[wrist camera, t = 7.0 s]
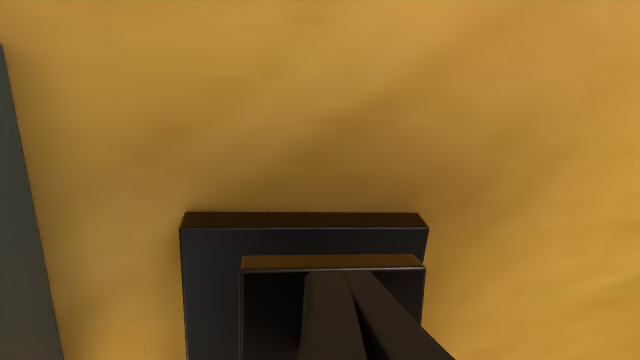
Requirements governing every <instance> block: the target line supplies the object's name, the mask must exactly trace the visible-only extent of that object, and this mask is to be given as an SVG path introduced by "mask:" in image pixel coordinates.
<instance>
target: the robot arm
mask: <svg viewBox="0 0 640 360" xmlns="http://www.w3.org/2000/svg"><path fill="white" fill-rule="evenodd" d="M296 360H455V359H454V358H453V357H452V356H451V355H450V354H449V353H448V352H447V351H446V350H445V349H444V348H443V347H441V346H440V345H439V344H438V343H437V342H436V341H435V340H434V339H433V338H432V337H431V336H430V335H429V334H428V333H427V332H426V331H425V330H424V329H423V328H422V327H421V326H420V325H419V324H418V323H417V322H416V320H415V319H414V318H413V317H412V316H411V315H410V314H409V313H408V312H407V311H406V310H405V309H404V308H403V307H402V306H401V305H400V304H399V302H398V301H397V300H396V299H395V298H394V297H393V296H392V295H391V294H390V293H389V292H388V290H387V289H386V288H385V287H384V286H383V285H382V284H381V283H380V282H379V281H378V280H377V279H376V278H375V276H374V275H373V274H372V273H371V272H370V271H319V272H310V273H309V274H308V275H306V276H305V286H304V300H303V314H302V328H301V342H300V347H299V351H298V355H297V358H296Z"/></svg>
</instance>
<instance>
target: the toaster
mask: <svg viewBox="0 0 640 360" xmlns="http://www.w3.org/2000/svg"><path fill="white" fill-rule="evenodd" d="M0 360H63V355H62V350H61V345H60V340H59V335H58V330H57V325H56V319H55V314H54V309H53V304H52V299H51V294H50V289H49V284H48V279H47V274H46V269H45V263H44V258H43V253H42V248H41V243H40V238H39V233H38V228H37V223H36V218H35V212H34V207H33V202H32V197H31V192H30V187H29V182H28V177H27V172H26V167H25V162H24V156H23V151H22V146H21V141H20V136H19V131H18V126H17V121H16V116H15V111H14V105H13V100H12V95H11V90H10V85H9V80H8V75H7V70H6V65H5V60H4V55H3V49H2V45H1V44H0Z"/></svg>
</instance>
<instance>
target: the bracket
mask: <svg viewBox="0 0 640 360" xmlns="http://www.w3.org/2000/svg"><path fill="white" fill-rule="evenodd" d="M428 233H429V227H428V226H427V224H426V223H425V222H424V220H423V219H422V218H421V216H420V215H419V214H418V213H354V212H185V214H184V216H183V219H182V222H181V225H180V228H179V240H180V257H181V274H182V291H183V307H184V324H185V341H186V358H187V360H239V284H240V264H241V259H242V257H243V256H265V255H359V254H412V255H414V256H415V257H416V258H417V259H418V260H419V261H420V262H421V263H422V264H423V260H424V255H425V249H426V244H427V238H428Z"/></svg>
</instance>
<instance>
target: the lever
mask: <svg viewBox="0 0 640 360" xmlns="http://www.w3.org/2000/svg"><path fill="white" fill-rule="evenodd" d="M319 271H370V272H371V273H372V274H373V275H374V276H375V278H376V279H377V280H378V281H379V282H380V283H381V284H382V285H383V286H384V287H385V288H386V289H387V290H388V292H389V293H390V294H391V295H392V296H393V297H394V298H395V299H396V300H397V301H398V302H399V304H400V305H401V306H402V307H403V308H404V309H405V310H406V311H407V312H408V313H409V314H410V315H411V316H412V317H413V318H414V319H415V320H416V322H417V323H418V324H419V325H420V326H421V319H422V308H423V297H424V286H425V275H426V268H425V266H424V265H423V264H422V263H421V262H420V261H419V260H418V259H417V258H416V257H415V256H414V255H412V254H359V255H265V256H243V257H242V259H241V264H240V284H239V360H296V358H297V355H298V351H299V347H300V342H301V328H302V314H303V300H304V286H305V276H306V275H308V274H309V273H310V272H319Z"/></svg>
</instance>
